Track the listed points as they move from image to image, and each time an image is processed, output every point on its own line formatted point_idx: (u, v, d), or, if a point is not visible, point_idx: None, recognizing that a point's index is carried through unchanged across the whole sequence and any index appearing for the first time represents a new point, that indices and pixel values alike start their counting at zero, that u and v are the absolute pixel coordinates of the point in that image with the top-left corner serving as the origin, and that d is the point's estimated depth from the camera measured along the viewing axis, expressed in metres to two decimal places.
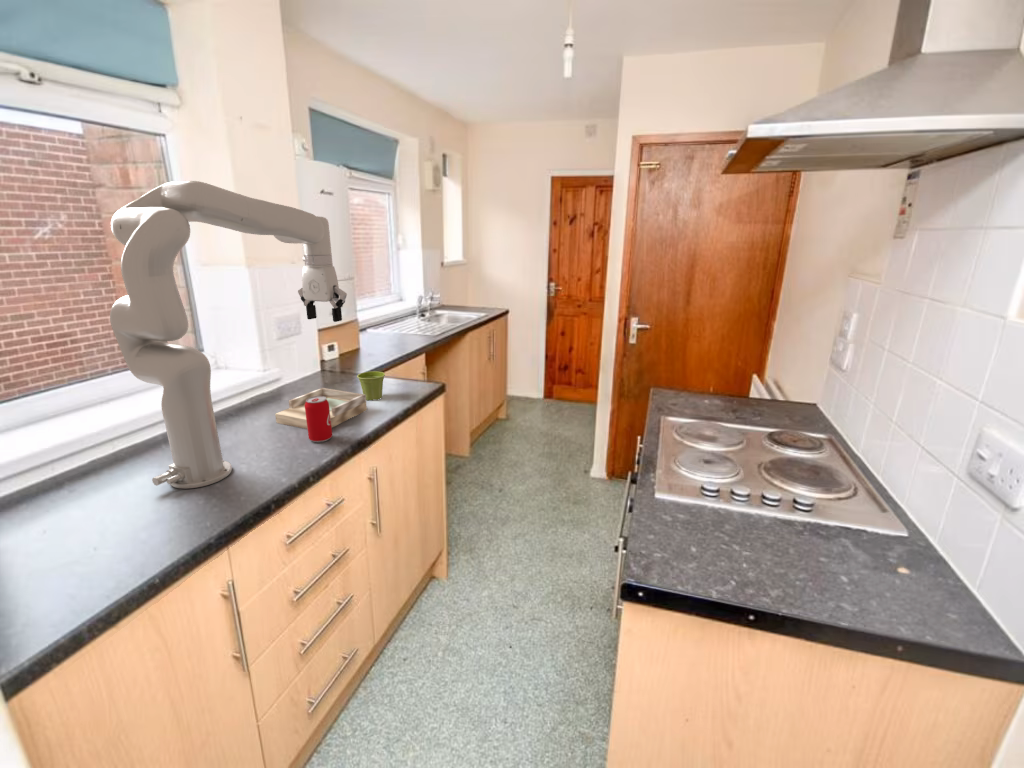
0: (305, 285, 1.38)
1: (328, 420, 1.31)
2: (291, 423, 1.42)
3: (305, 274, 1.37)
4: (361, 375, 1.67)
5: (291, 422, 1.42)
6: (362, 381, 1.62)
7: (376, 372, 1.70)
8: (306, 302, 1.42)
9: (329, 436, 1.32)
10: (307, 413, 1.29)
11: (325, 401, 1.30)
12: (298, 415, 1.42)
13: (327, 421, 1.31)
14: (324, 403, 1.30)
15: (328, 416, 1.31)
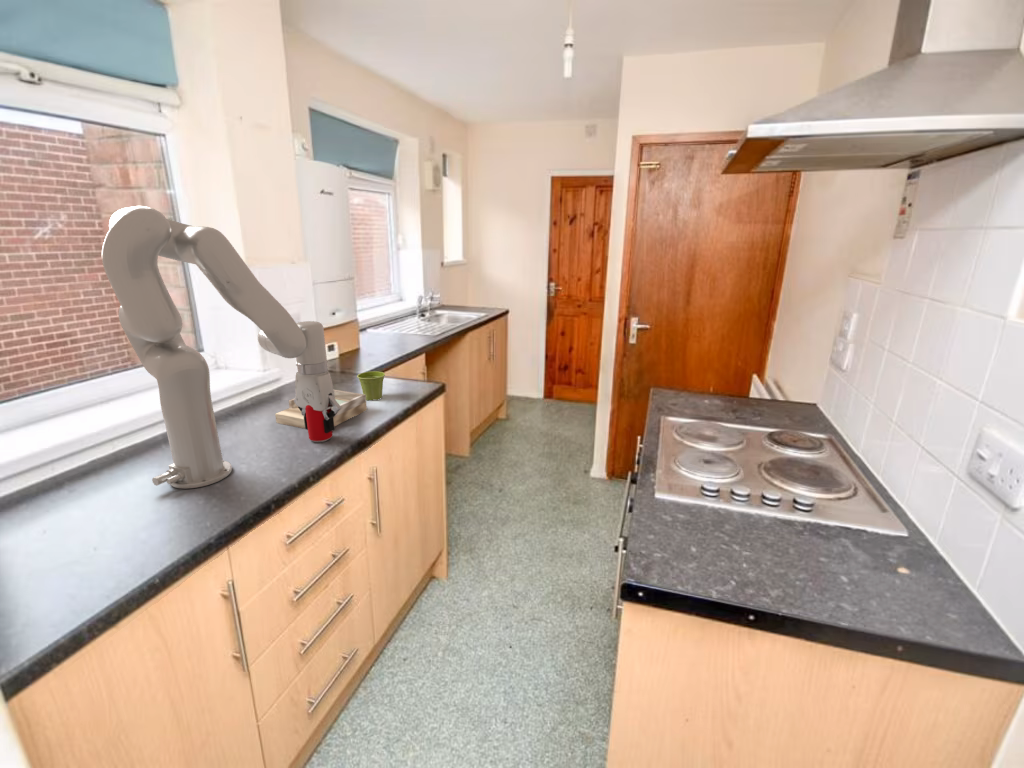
0: (298, 393, 1.28)
1: None
2: (291, 423, 1.42)
3: (298, 382, 1.27)
4: (361, 375, 1.67)
5: (291, 422, 1.42)
6: (362, 381, 1.62)
7: (376, 372, 1.70)
8: (303, 411, 1.32)
9: (329, 436, 1.32)
10: (307, 413, 1.29)
11: None
12: (298, 415, 1.42)
13: None
14: None
15: None
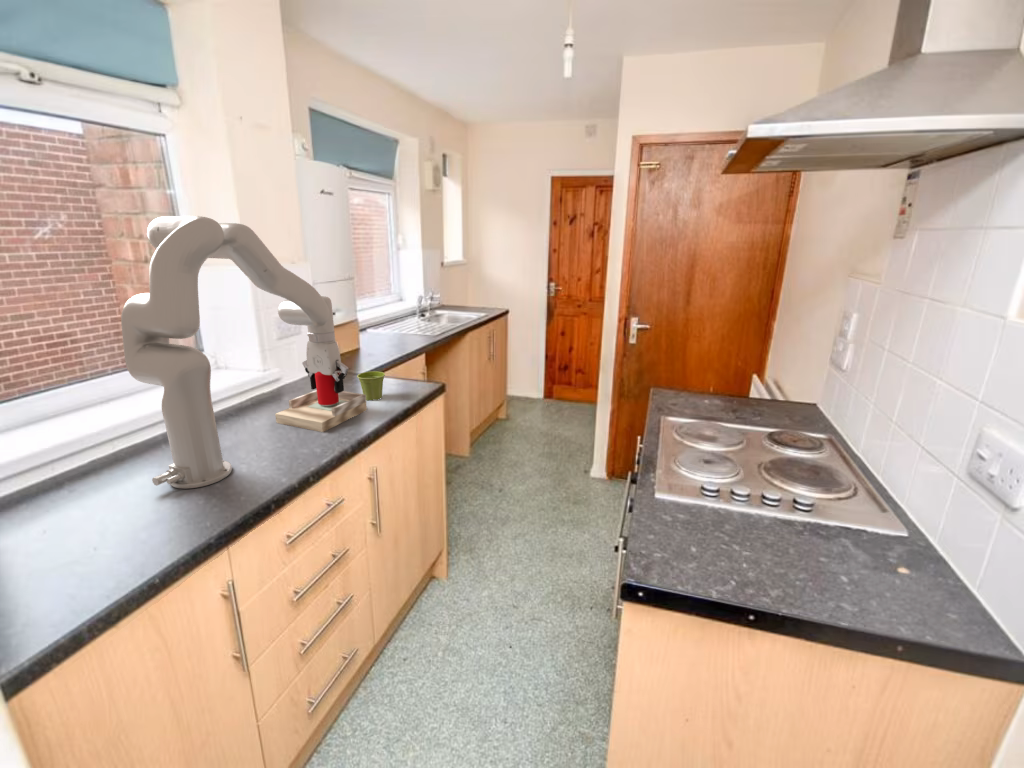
0: (309, 359, 1.47)
1: None
2: (291, 423, 1.42)
3: (309, 349, 1.45)
4: (361, 375, 1.67)
5: (291, 422, 1.42)
6: (362, 381, 1.62)
7: (376, 372, 1.70)
8: (310, 374, 1.50)
9: (336, 401, 1.51)
10: (317, 380, 1.47)
11: None
12: (298, 415, 1.42)
13: (334, 388, 1.49)
14: None
15: None
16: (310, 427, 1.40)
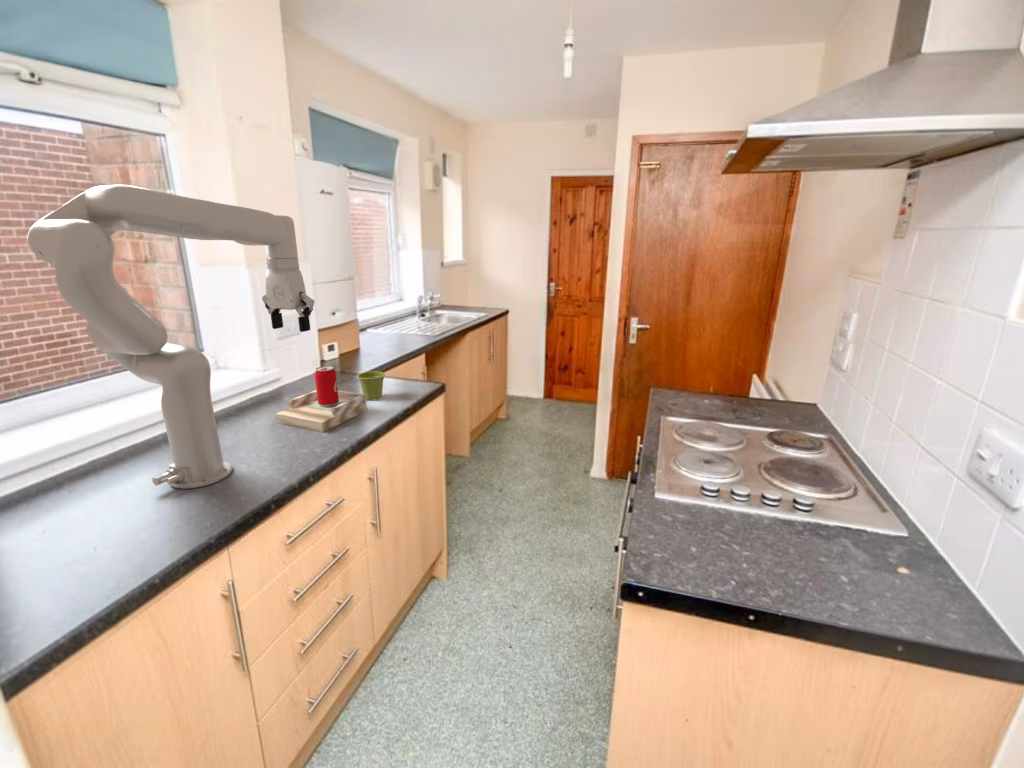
0: (268, 291, 1.25)
1: (335, 387, 1.50)
2: (291, 423, 1.42)
3: (268, 279, 1.24)
4: (361, 375, 1.67)
5: (291, 422, 1.42)
6: (362, 381, 1.62)
7: (376, 372, 1.70)
8: (271, 310, 1.29)
9: (336, 401, 1.51)
10: (317, 380, 1.47)
11: (332, 370, 1.48)
12: (298, 415, 1.42)
13: (334, 388, 1.49)
14: (331, 371, 1.48)
15: (335, 383, 1.50)
16: (310, 427, 1.40)
